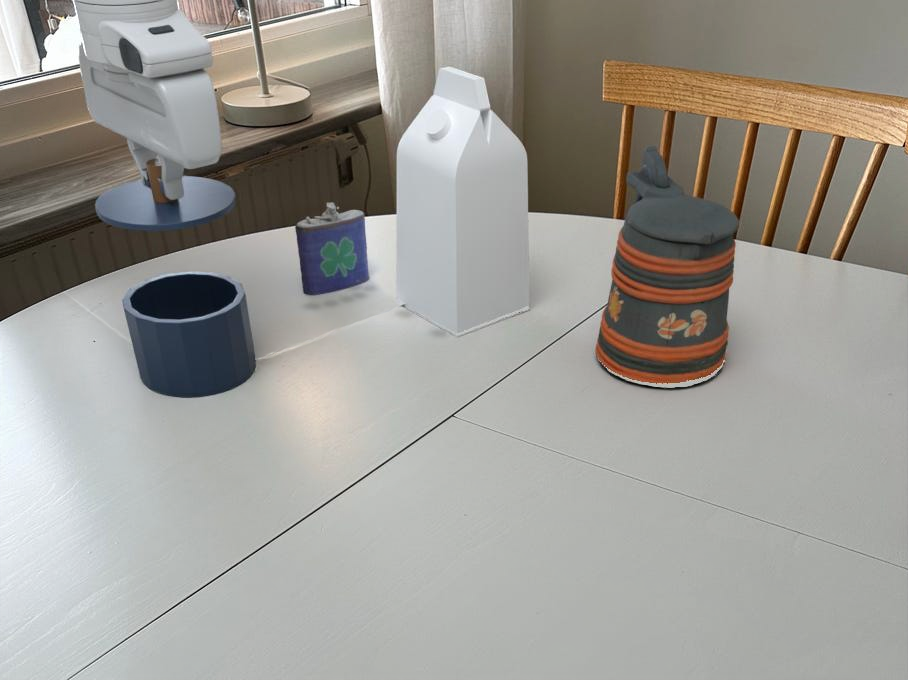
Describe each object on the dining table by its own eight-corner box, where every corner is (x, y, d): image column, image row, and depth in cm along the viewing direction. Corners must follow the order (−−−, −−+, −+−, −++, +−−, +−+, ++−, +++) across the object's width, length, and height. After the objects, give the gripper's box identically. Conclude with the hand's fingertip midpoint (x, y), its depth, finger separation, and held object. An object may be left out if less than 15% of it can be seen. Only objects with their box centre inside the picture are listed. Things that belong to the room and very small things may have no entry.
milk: (529, 309, 125) (539, 75, 107) (457, 337, 119) (455, 95, 102) (467, 278, 132) (467, 53, 114) (396, 302, 126) (384, 70, 108)
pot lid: (74, 208, 102) (61, 159, 99) (194, 178, 109) (185, 131, 105) (138, 249, 95) (127, 197, 91) (263, 214, 101) (256, 164, 98)
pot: (120, 366, 114) (101, 293, 108) (218, 332, 120) (205, 262, 114) (176, 409, 107) (159, 334, 101) (277, 372, 113) (267, 298, 107)
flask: (363, 277, 132) (357, 192, 124) (374, 285, 130) (369, 199, 122) (299, 294, 128) (289, 207, 120) (310, 303, 126) (300, 215, 119)
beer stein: (561, 323, 122) (573, 147, 109) (670, 307, 126) (695, 135, 112) (627, 399, 109) (650, 209, 95) (747, 379, 113) (786, 193, 99)
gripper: (48, 17, 95) (86, 171, 104) (154, 60, 84) (186, 229, 93) (111, 8, 98) (142, 158, 107) (221, 48, 87) (245, 212, 96)
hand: (164, 192), depth 100 cm, fingers closed on pot lid, 2 cm apart
